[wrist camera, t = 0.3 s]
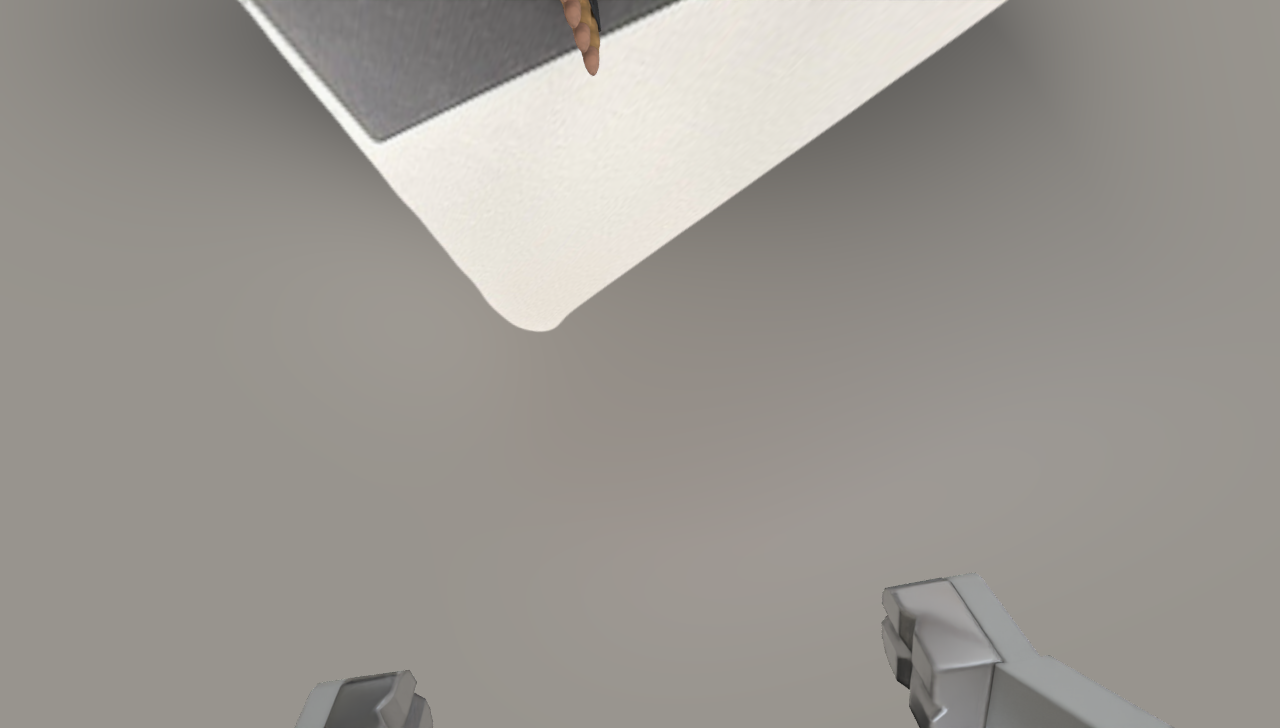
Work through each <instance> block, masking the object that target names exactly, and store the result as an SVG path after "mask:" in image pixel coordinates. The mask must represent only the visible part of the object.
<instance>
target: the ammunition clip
mask: <svg viewBox="0 0 1280 728" xmlns="http://www.w3.org/2000/svg"><path fill="white" fill-rule="evenodd" d="M560 1H561V2H562V4H563V8H564V14H565V17H566V19H567V22H568V23H569V25H570V26H571V27H572V29H573V33H574V38H575V42H576V44H577V46H578V48H579V50H580V51H581V52H582V56H583V60H584V64H585V67H586V69H587V71H588V72H589V73H590V74H591V75H592V76H594V75H595V74H596V73H597V71H598V68H599V47H600V38H599V32H600V31H601V26H600V18H599V10H598V3H597V0H560Z"/></svg>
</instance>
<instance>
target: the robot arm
mask: <svg viewBox="0 0 1280 728" xmlns="http://www.w3.org/2000/svg"><path fill="white" fill-rule="evenodd" d="M882 604H883V606H884V608H885V610H886V612H887V614H888V615H887V616H886V618H885V619H884V620H883V621H882V639H883V643H884V648H885V652H886V655H887V658H888V661H889V664H890V666H891V668H892V671H893V673H894V675H895V677H896V679H897V681H898V682H900V683H901V684H903V685H904V686H905V687H907V688H908V689H910V703H909V707H910V709H911V711H912V713H913V715H914V717H915V719H916V721H917V723H918V725H919V727H920V728H1174V727H1172V726H1170V725H1169V724H1167V723H1165V722H1164V721H1162V720H1160V719H1158V718H1157V717H1155V716H1153V715H1152V714H1150V713H1148V712H1146V711H1145V710H1143V709H1141V708H1139V707H1138V706H1136V705H1134V704H1133V703H1131V702H1129V701H1127V700H1126V699H1124V698H1122V697H1121V696H1119V695H1117V694H1116V693H1114V692H1112V691H1110V690H1109V689H1107V688H1105V687H1103V686H1102V685H1100V684H1098V683H1097V682H1095V681H1093V680H1091V679H1090V678H1088V677H1086V676H1085V675H1083V674H1081V673H1079V672H1078V671H1076V670H1074V669H1073V668H1071V667H1069V666H1067V665H1066V664H1064V663H1062V662H1061V661H1059V660H1057V659H1055V658H1054V657H1052V656H1050V655H1048V656H1039V654H1038V653H1037V651H1036V650H1035V649H1034V647H1033V646H1032V645H1031V643H1030V642H1029V641H1028V639H1027V638H1026V637H1025V635H1024V634H1023V633H1022V631H1021V630H1020V628H1019V627H1018V626H1017V624H1016V623H1015V622H1014V621H1013V619H1012V618H1011V616H1010V615H1009V614H1008V612H1007V611H1006V610H1005V608H1004V607H1003V605H1002V604H1001V603H1000V601H999V600H998V599H997V597H996V596H995V595H994V593H993V592H992V591H991V589H990V588H989V586H988V585H987V584H986V582H985V581H984V580H983V578H982V577H981V576H979V575H978V574H976V573H969V574H964V575H958V576H953V577H946V578H937V579H931V580H926V581H920V582H915V583H909V584H904V585H898V586H893V587H888V588H885V589H884V591H883V595H882ZM416 684H417V681H416V680H415V678H414V676H413V675H412V673H411V671H410V670H405V671H397V672H390V673H383V674H376V675H369V676H362V677H355V678H348V679H341V680H335V681H329V682H323V683H319V684H317V686H316V687H315V688H314V689H313V690H312V691H311V692H310V694H309V696H308V698H307V701H306V703H305V705H304V708H303V710H302V712H301V714H300V716H299V719H298V721H297V723H296V726H295V728H433V720H432V715H431V711H430V707H429V705H428V703H427V701H426V699H425V698H423V697H421V696H419V695H417V694H416V693H414V691H415V687H416Z"/></svg>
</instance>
